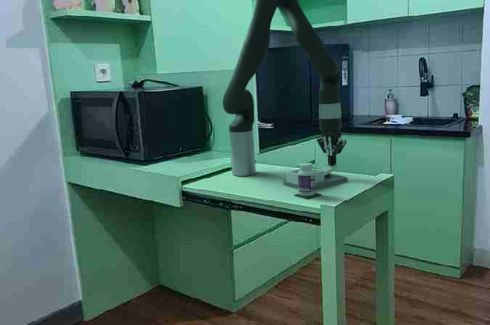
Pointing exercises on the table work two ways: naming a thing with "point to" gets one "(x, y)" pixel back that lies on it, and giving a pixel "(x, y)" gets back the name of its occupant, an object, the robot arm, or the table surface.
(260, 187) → the table surface
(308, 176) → the pill bottle
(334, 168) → the rocker
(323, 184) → the panel
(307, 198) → the pad
